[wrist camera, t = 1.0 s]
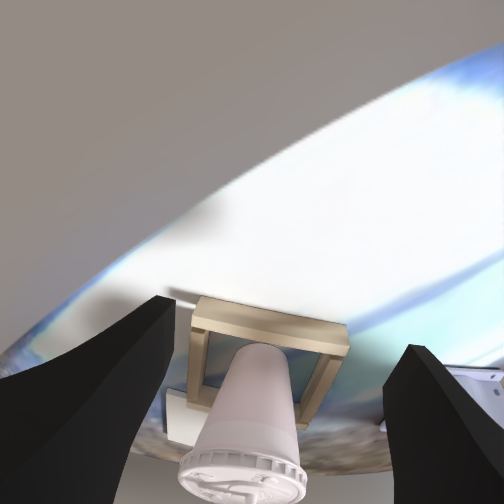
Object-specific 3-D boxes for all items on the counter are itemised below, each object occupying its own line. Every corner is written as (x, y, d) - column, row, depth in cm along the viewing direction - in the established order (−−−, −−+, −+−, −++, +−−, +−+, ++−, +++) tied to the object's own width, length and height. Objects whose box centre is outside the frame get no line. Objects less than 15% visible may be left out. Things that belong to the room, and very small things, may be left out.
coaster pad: (266, 410, 23) (265, 416, 22) (249, 453, 26) (248, 458, 26) (168, 387, 23) (165, 393, 23) (169, 434, 27) (167, 439, 26)
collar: (346, 325, 19) (350, 346, 17) (305, 410, 23) (305, 430, 21) (200, 295, 19) (192, 315, 17) (192, 388, 23) (186, 407, 21)
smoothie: (306, 393, 22) (298, 576, 9) (220, 390, 22) (175, 561, 10) (309, 326, 19) (307, 564, 6) (207, 325, 20) (130, 537, 7)
